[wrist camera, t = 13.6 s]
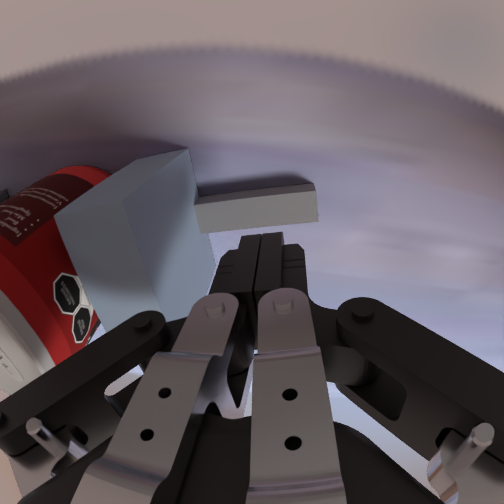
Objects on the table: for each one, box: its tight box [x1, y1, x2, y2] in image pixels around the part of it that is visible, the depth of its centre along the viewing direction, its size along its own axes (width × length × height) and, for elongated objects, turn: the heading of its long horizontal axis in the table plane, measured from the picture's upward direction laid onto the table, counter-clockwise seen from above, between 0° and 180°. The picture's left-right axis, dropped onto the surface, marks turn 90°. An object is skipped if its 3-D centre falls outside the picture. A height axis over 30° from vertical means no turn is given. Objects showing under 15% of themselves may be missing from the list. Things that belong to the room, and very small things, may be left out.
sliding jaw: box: [54, 148, 318, 332], centre depth 14 cm, size 9×7×8 cm
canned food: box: [0, 166, 111, 395], centre depth 13 cm, size 8×8×11 cm
